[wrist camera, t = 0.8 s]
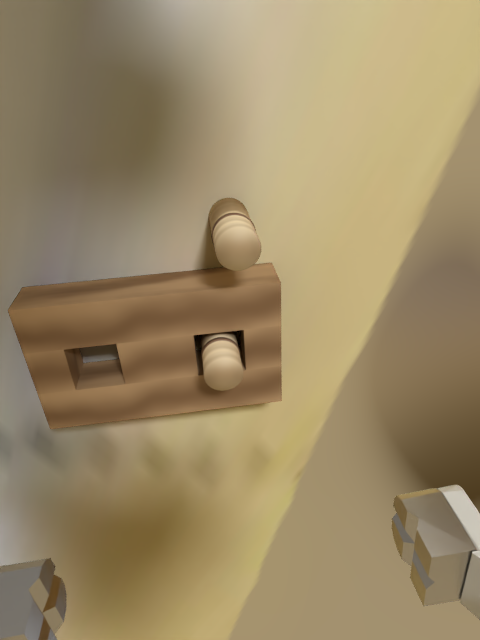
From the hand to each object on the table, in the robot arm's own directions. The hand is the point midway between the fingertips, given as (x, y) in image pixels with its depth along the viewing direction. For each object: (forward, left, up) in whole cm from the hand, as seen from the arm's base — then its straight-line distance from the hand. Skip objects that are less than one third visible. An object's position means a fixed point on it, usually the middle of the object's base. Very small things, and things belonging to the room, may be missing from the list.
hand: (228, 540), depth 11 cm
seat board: (+16, -5, -35) cm, 38 cm away
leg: (+4, +3, -35) cm, 35 cm away
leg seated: (+16, +1, -35) cm, 38 cm away
